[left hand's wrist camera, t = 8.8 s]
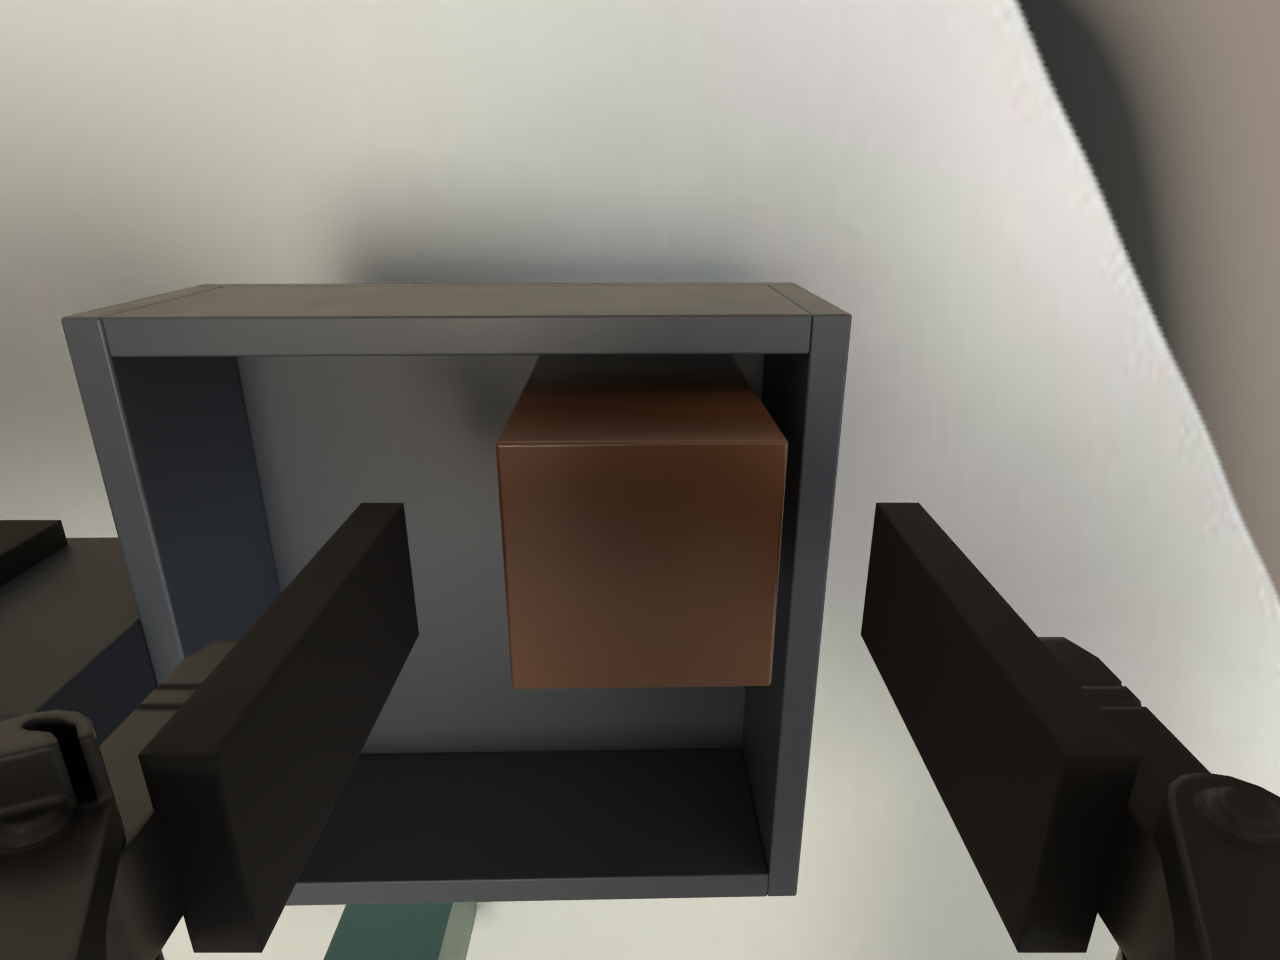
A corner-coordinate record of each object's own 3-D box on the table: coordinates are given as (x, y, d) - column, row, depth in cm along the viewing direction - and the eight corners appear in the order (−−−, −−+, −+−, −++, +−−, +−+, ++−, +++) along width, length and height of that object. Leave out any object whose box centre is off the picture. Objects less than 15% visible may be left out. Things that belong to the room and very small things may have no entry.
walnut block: (728, 349, 21) (789, 440, 13) (721, 520, 22) (771, 687, 15) (540, 349, 20) (494, 442, 13) (548, 521, 22) (511, 691, 15)
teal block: (469, 839, 40) (429, 991, 32) (476, 911, 41) (440, 1070, 34) (372, 839, 40) (310, 991, 32) (383, 911, 41) (327, 1070, 34)
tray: (794, 282, 21) (913, 347, 12) (761, 754, 26) (828, 1023, 18) (-146, 285, 20) (-697, 354, 12) (24, 766, 26) (-269, 1048, 17)
